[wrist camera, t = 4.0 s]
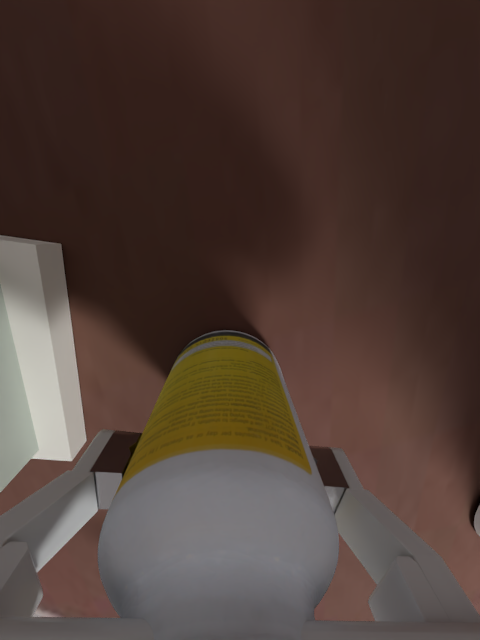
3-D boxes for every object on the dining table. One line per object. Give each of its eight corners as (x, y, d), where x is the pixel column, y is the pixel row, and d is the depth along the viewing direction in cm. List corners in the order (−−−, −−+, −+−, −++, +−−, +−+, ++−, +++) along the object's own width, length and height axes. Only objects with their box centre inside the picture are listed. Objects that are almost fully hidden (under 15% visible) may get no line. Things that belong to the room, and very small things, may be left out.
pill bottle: (162, 334, 13) (-266, 932, 2) (274, 318, 13) (551, 852, 2) (188, 421, 15) (71, 911, 4) (282, 407, 15) (423, 878, 4)
